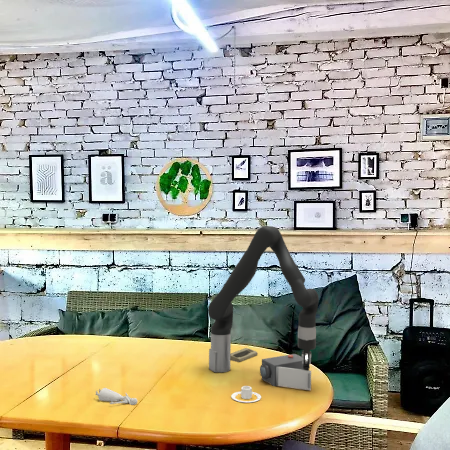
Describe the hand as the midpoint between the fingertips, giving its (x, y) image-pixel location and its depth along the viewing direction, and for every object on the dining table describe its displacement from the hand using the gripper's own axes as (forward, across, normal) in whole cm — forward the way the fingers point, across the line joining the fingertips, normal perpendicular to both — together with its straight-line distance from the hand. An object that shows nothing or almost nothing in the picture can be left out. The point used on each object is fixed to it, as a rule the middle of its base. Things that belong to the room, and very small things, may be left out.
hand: (306, 377), depth 213 cm
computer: (+6, -38, -32) cm, 50 cm away
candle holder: (+5, +15, -24) cm, 29 cm away
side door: (+4, +2, -5) cm, 7 cm away
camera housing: (+5, -8, -10) cm, 14 cm away
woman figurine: (+5, +29, -73) cm, 78 cm away
